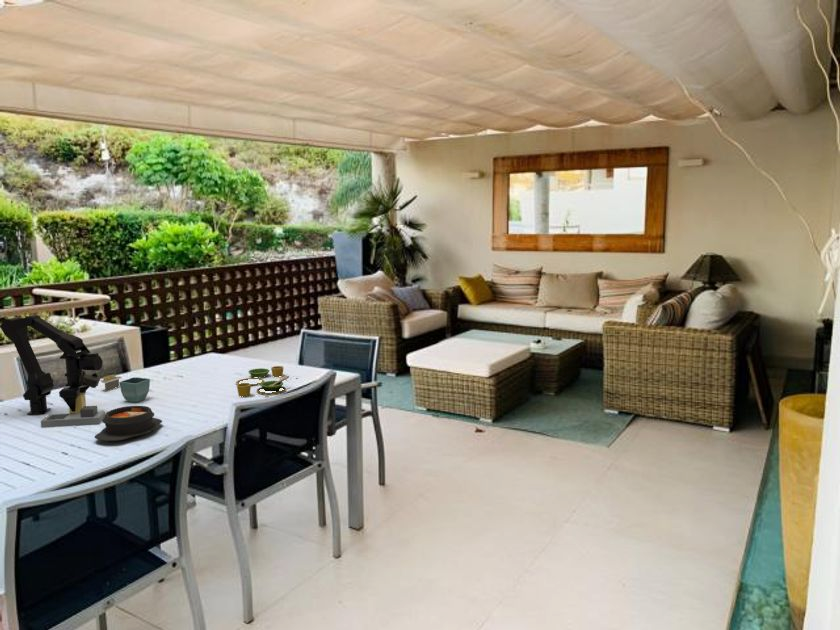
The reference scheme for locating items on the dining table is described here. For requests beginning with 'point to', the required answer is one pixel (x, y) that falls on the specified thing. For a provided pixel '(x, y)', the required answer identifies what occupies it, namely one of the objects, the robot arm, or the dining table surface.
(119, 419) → the casserole
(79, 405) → the plug
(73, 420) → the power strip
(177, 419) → the dining table surface
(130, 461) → the dining table surface
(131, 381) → the flower pot
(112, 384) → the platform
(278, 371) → the tableware set
